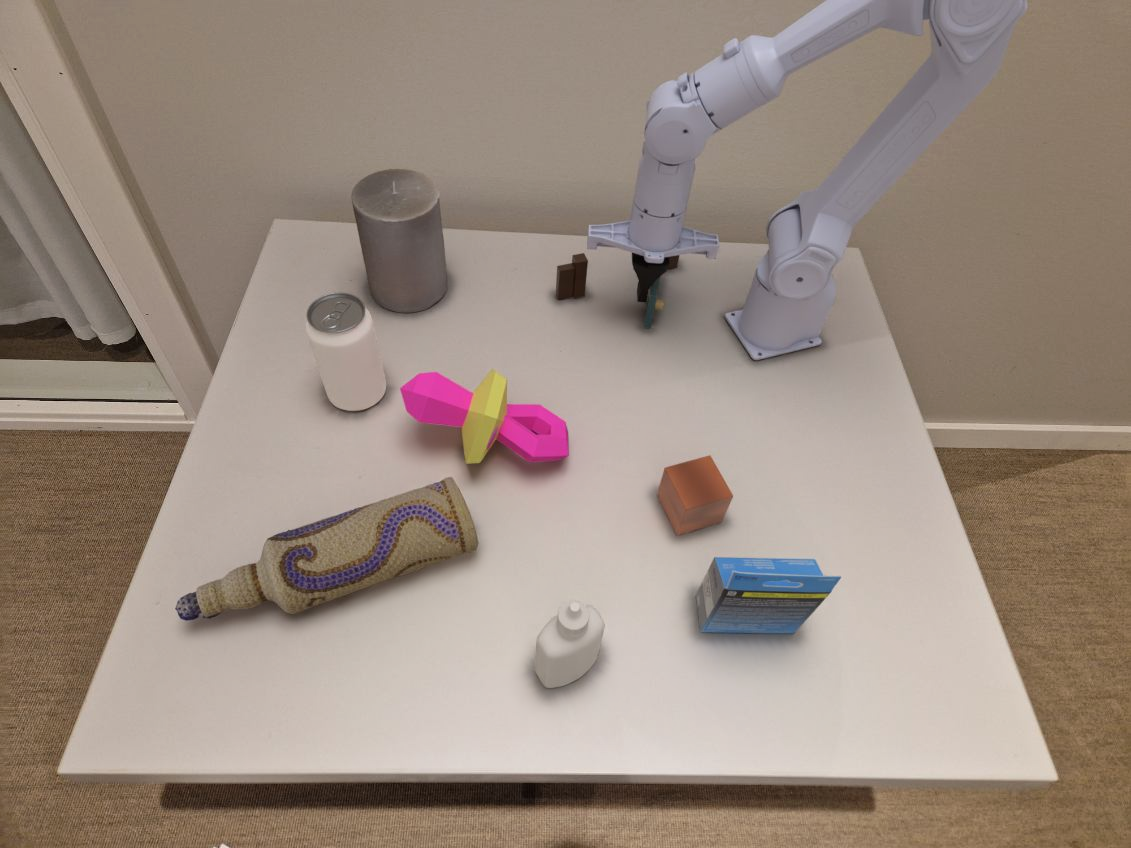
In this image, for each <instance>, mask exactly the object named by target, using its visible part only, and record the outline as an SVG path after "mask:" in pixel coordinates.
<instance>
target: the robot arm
mask: <svg viewBox="0 0 1131 848" xmlns="http://www.w3.org/2000/svg"><path fill="white" fill-rule="evenodd" d="M1027 10H1028V0H824V1H823V2H822V3H820V4H819V5H818V6H816V7H815V8H813V9H812V10H810V11H809V12H807V13H806V14H805V15H803V16H802V17H800V18H799V19H798V20H796V21H794V22H793V23H792V24H791V25H789V26H788V27H787V28H786V27H785V29H783V30H782V31H781V32H779V33H777V35H775V36H772V37H767V36H762V35H757V34H750V35H749V36H748V37H746V38H745V39H743V40H741V41H740V42H739V40H738V38H737V37H734V38H732V39H731V40H730V41H728V42H726V43H724V45H723V53H721V54H720V55H718V56H717V57H715V58H713V59H712V60H711V61H709V62H707V63H706V64H704V65H702V66H701V67H700V68H698V69H697V70H695V71H693V72H691V74H688V73H689V72H684V73H682V74H681V75H679V76H678V77H677V80H675V79H671V80H669V81H666V82H663V83H662V84H660V85H659V86H657V87H656V89H654V90H653V92H652V94H651V97H649V99H648V100H647V101H646V117H645V122H644V123H645V124H644V133H643V135H644V141H643V143H642V149H641V155H640V158H639V160H638V161H639V162H638V168H637V173H636V181H635V186H634V193H633V200H632V206H631V212H630V213H631V214H630V220H625V221H618V222H612V223H605V224H588V230H587V239H586V240H587V242H586V249H587V250H590V251H591V250H593V251H596V250H597V249H598V247H601V248H602V247H603V248H615V249H620V250H623V251H625V252H630V253H631V264H632V265H631V266H632V268H633V271H634V272H635V273H634V274H635V275H636V278H637V280H638V282H637V288H636V302H637V303H643V304H648V300H649V291H650V290H651V287H652V285H653V284H654V282H655V281H656V280H657V279H658V278H659V277H660V276H661V277H662V276H663V275H665V274H666V273H667V271H668V270H669V269H668V267H669V263H670V260H669V257H670V256H677V255H680V256H682V255H688V254H692V255H693V254H694V255H704V256H705V258H706V259H710V260H716V259H717V256H718V252H719V249H720V239H719V234H715V233H710V232H709V233H708V232H703V231H700V230H696V229H695V228H694V229H693V228H689V227H687V226H683V225H684V220H685V218H686V217H685V216H686V213H687V209H688V203H689V199H690V194H691V191H692V190H691V189H692V185H693V181H694V177H695V172H696V159H697V158H698V157H699V156H701V154H702V153H703V152H704V150H705V148H706V145H707V142H708V140H709V139H710V138H711V137H713V136H714V135H715V134H716V133H718V132H720V131H721V130H723V129H725V128H727V127H728V126H730V125H732V124H734V123H735V122H737V121H739V120H741V119H742V118H744V117H745V116H747V115H749V114H752V112H755V111H756V110H757V109H759V108H761V107H763V106H765V105H766V104H768V103H770V102H771V101H773V100H775V99H776V98H778V97H780V95H781V93H782V90H783V88H784V86H785V83H786V80H787V78H788V77H789V76H790V75H791V74H794V73H795V72H798V71H799V70H801V69H803V68H805V67H807V66H808V65H810V64H812V63H814V62H816V61H818V60H820V59H822V58H824V57H826V56H828V55H830V54H832V53H833V52H835V51H837V50H839V49H842V48H843V47H845V46H846V45H849V44H851V43H853V42H854V41H856V40H858V39H860V38H862V37H864V36H866V35H868V34H870V33H872V32H873V31H876V30H878V29H888V30H891V31H895V32H900V33H904V34H906V35H910V36H915V37H922V36H923V35H924V21H927V20H928V25H929V38H930V54H929V56H928V57H927V58H926V60H925V61H924V62H923V63H922V64H921V65H920V67H919V68H918V69H917V70H916V71H915V72H914V74H913V75H912V76H911V78H910V79H909V80H908V81H907V82H906V83H905V84H904V86H903V87H902V88H901V89H900V91H899V92H898V93H897V94H896V95H895V96H894V98H893V99H891V101H890V102H889V103H888V105H887V106H886V107H885V108H884V109H883V110H882V112H881V113H880V114H879V115H878V116H877V118H876V119H875V120H874V121H873V122H872V123H871V124H870V125H869V127H868V128H867V129H866V131H864V133H863V134H862V135H861V136H860V138H859V139H858V140H857V141H856V142H855V143H854V145H853V146H851V148H850V149H849V151H847V153H845V155H844V157H843V158H841V160H840V161H839V162H838V163H837V165H836V166H834V168H833V169H832V170H831V172H829V173H828V175H827V177H826V178H824V180H823V181H822V182H821V183H820V185H819V186H818V187H817V188H816V189H807V190H802V191H801V192H800V194H799V195H798V196H797V197H796V198H795V199H794V200H792V201H791V202H790V203H789V204H786V205H785V206H782V207H780V208H779V209H777V210H776V211H775V212H774V213H773V214H772V215H771V216H770V218H769V219H768V221H767V224H766V227H765V229H766V237H767V240H768V241H767V243H768V250H767V251H766V252H765V254H764V255H763V256H762V257H761V258H760V260H759V261H758V263H757V266H756V268H755V271H754V275H753V278H752V280H751V281H752V282H751V285H750V287H749V290H748V292H747V297H746V299H745V302H744V305H743V308H742V309H738V310H734V311H728V312H726V313H725V315H724V319H725V320H726V321H727V323H728V324H729V326H730V328H731V329H732V331H733V332H734V333H735V335H736V336H737V338H738V340H739V341H740V343H741V344H742V346H743V347H744V349H745V350H746V352H747V353H748V354H749V356H750V358H751V359H752V360H754V361H760V360H764V359H769V358H772V357H776V356H781V355H785V354H789V353H793V352H797V351H801V350H805V349H809V348H813V347H818V346H820V345H822V343H823V340H822V338H820V335H821V332H822V330H823V328H824V326H825V324H826V321H827V320H828V317H829V316H830V314H831V311H832V309H833V306H834V305H835V302H836V296H837V286H836V282H835V278H834V276H833V271H834V269H835V268H836V266H837V265H838V264H839V263H840V262H841V261H842V260H843V259H844V255H845V253H846V250H847V248H848V244H849V241H850V237H851V234H852V232H853V229H854V227H855V226H856V225H857V224H858V223H859V221H861V219H863V217H864V216H865V215H866V214H867V213H868V212H869V211H870V210H871V209H872V208H873V207H874V206H875V205H876V203H878V202H879V200H881V198H882V197H883V196H884V195H885V194H886V193H887V192H888V191H889V190H890V189H891V188H892V186H894V185H895V183H897V182H898V180H899V179H900V178H901V177H902V176H903V175H904V174H905V173H906V172H907V171H908V170H909V169H910V168H911V167H912V165H914V164H915V162H917V160H918V159H919V158H920V157H921V156H922V155H923V154H924V153H925V152H926V151H927V150H928V149H929V148H930V147H931V146H932V145H933V144H934V143H935V141H936V140H937V139H938V138H939V137H940V136H941V135H942V134H943V133H944V132H945V130H947V129H948V128H949V127H950V125H951V124H952V123H953V122H954V121H955V120H957V118H958V117H959V116H960V115H961V114H962V113H963V112H964V111H965V109H966V108H967V107H968V106H969V105H970V104H972V102H973V101H974V100H975V99H976V98H977V97H978V96H979V95H980V94H981V93H982V92H983V91H984V89H986V87H988V86H989V84H990V83H991V82H992V81H993V80H994V78H995V77H996V76H997V74H998V73H999V71H1000V69H1001V67H1002V63H1003V61H1004V58H1005V56H1006V55H1005V54H1006V53H1007V49H1008V46H1009V43H1010V41H1011V38H1012V35H1013V32H1014V29H1015V26H1016V23H1017V22H1018V21H1019V20H1020V19H1021V18H1022V16H1024V15H1025V13H1026V12H1027Z"/></svg>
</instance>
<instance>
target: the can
mask: <svg viewBox="0 0 1131 848" xmlns="http://www.w3.org/2000/svg"><path fill="white" fill-rule="evenodd" d="M305 315H306V316H305V317H306V323H305V329H306V330H305V331H306V335H307V338H308V341H309V344H310V348H311V351H312V354H313V356H314V360H315V363H316V366H317V369H318V372H319V375H320V379H321V382H322V384H323V388H324V390H325V393H326V396H327V398H328V400H329V402H330V403H331V404H332V405H333V406H334V407H335V408H337V409H340V410H344V411H350V412H360V411H364V410H367V409H369V408H372V407H373V406H375V405H377V404H378V403H379V402H380V401H381V400H382V399H383V398H384V395H385V394H386V391H387V380H386V375H385V371H384V365H383V361H382V357H381V352H380V347H379V343H378V339H377V334H376V329H375V325H374V321H373V318H372V315H371V313H370V312H369V310H368V309H367V307H366V306H365V303H364V301H363V300H362V299H361V298H360V297H358V296H357V295H354V294H352V293H348V292H342V291H340V292H332V293H331V292H330V293H327V294H324V295H321V296H320V297H318V298H316V299H314V300H313V301H312V302H311V303H310V304H309V306H308V308H307V310H306V314H305Z"/></svg>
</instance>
